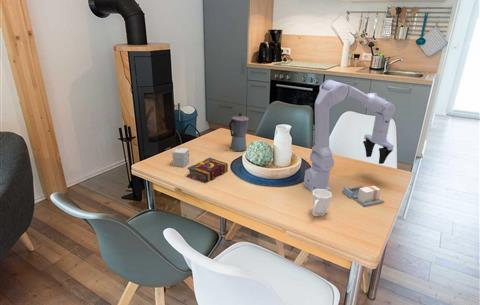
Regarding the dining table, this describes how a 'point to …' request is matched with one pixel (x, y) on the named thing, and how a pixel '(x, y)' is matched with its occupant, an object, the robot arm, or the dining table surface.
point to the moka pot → (238, 132)
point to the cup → (321, 201)
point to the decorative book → (207, 169)
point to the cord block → (368, 194)
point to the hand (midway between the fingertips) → (374, 160)
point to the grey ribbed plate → (354, 193)
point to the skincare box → (180, 157)
